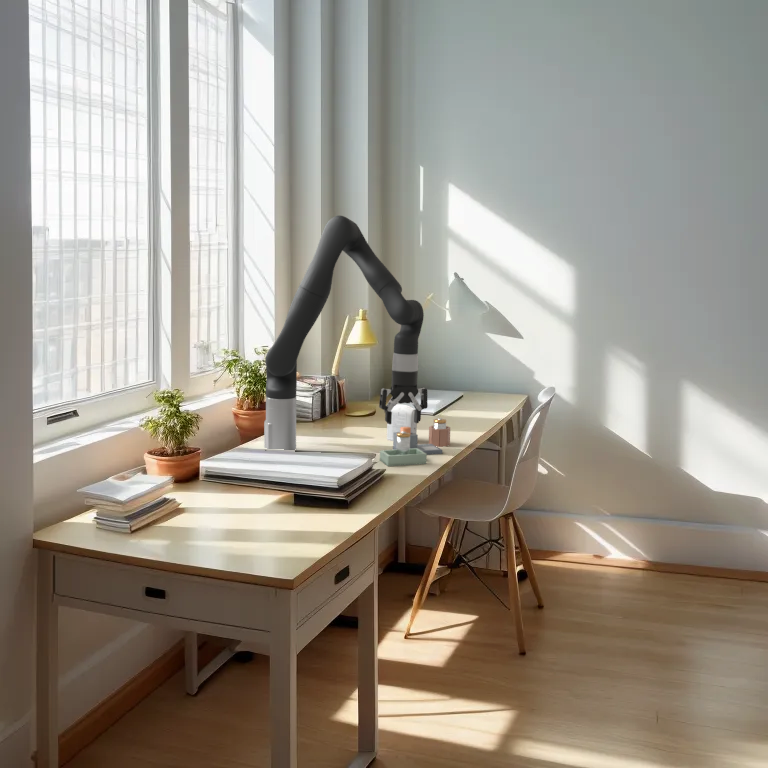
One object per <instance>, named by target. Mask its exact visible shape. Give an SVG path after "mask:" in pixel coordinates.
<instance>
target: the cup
mask: <svg viewBox="0 0 768 768" xmlns="http://www.w3.org/2000/svg"><path fill="white" fill-rule="evenodd" d="M428 444H433V445H435V446H437V447H438V448H441V447H443V446H446V447H448V445H449V446H450V445H451V427H450V426H448V425H446V429H435V428H434V424H433V425H431V426H429V427H428Z"/></svg>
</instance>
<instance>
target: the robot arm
mask: <svg viewBox="0 0 768 768" xmlns="http://www.w3.org/2000/svg"><path fill="white" fill-rule="evenodd" d="M342 252H344V253H345V254H346V255H347V256H348V257H349V258H350V259H352V261H353V262H355V264H356V265H357V266H358V269H360V271H361V272H362V274H363V277H364V278H365V280H366V282H367V283H368V284H369V286H370V287H371V289H372V290H373V291H374V292H375V294H376V295H377V296H378V297H379V299H381V301H382V303H383V306H384V307H385V309H386V312H387V313H388V315H389V317H390V318H391V320H393V321H394V323H396V324H398V325H400V329H399V331H398V333H396V334H395V336H394V339H393V340H394V341H393V356H392V361H391V362H392V363H391V364H392V365H391V366H392V367H391V387H390V388H384V387H381V389H380V393H379V402H378V403H379V404H378V407H379V408H380V409H381V410H383V411H385V412H384V413H385V414H384V415H385V416H384V420H385V422H386V423H388V424H391V421H392V412H391V410H392V409H393V407H394V406H396V405H398V404H401V405H402V404H412V406H413V408H414V409H416V410H414V422H415V423H417V424H420V423H419V422H421V419H422V418H421V417H422V410H425V409H427V408H428V407H429V405H428V389H427V388H425V387H424V386H423V387H420V388H418V377H419V375H418V373H419V357H418V355H419V353H418V352H419V338H420V334H421V332H422V327H423V323H424V318H425V317H424V316H425V315H424V314H425V313H424V309H423V306H422V304H421V303H420V302H419V301H418V300H415V299H406V298H405V297H404V296H403V294H402V293H403V288H402V285H401V283H400V282H399V281H398V280H397V279H396V277H395V276H394V275H393V274H392V272H391V271H390V270H389V269H388V268H387V267H386V266H385V265H384V263H383V262H382V261H381V260H380V259H379V257H378V256H377V254H376V253H375V252H374V251H373V250H372V248H371V246H370V245H369V243H368V241H367V240H366V238H365V235H364V234H363V232H362V231H361V229H360V228H359V225H358V224H357V223H356V222H354V221H353V220H351V219H349V218H348V217H346V216H344V215H335V216H333V217H331V218H329V220H328V221H327V223H326V224H325V225H324V228H323V231H322V233H321V236H320V238H319V242H318V244H317V247H316V250H315V253H314V255H313V257H312V260H311V261H310V263H309V265H308V268H307V270H306V272H305V274H304V276H303V278H302V280H301V282H300V283H299V286H298V288H297V290H296V291H295V294H294V296H293V299H292V301H291V304H290V307H289V309H288V311H287V315H286V317H285V318H286V319H285V320H284V325H283V327H282V329H281V330H280V332H279V334H278V336H277V338H276V339H275V341H274V343H273V345H272V346H271V347H270V348H269V349H268V350H267V352H266V355H265V359H264V361H265V366H266V367H265V368H266V371H265V372H266V379H265V380H266V382H265V383H266V384H265V420H264V421H263V422H264V423H263V424H264V425H263V428H264V433H263V435H264V436H263V437H264V438H263V439H264V441H263V442H264V444H263V447H264V448H267V449H284V450H295V449H296V450H297V386H298V383H297V380H298V375H297V374H298V373H297V372H298V366H297V365H298V364H297V363H298V362H297V361H298V357H299V355H300V352H301V349H302V347H303V344H304V341H305V340H306V337H307V336H308V334H309V332H310V331H311V329H312V328H313V326H314V325H315V323H316V322H317V320H318V319H319V317H320V314H321V313H322V312H323V310H324V309H323V308H325V305H326V303H327V301H328V299H329V296H330V293H331V290H332V284H333V276H334V270H335V266H336V264H337V262H338V259H339V258H340V256H341V254H342ZM389 395H391V398H390V399H389V401H388V402H387V398H388V396H389ZM417 395H419V396H420V403H419V401H418V400H417V399H416V396H417Z"/></svg>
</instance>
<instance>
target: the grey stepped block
mask: <svg viewBox="0 0 768 768" xmlns="http://www.w3.org/2000/svg"><path fill="white" fill-rule="evenodd" d="M397 433H399V432H394V434H393V441H392V442H393V443H392V444H393V445H392V450H396V445H397ZM418 436H419V435H418V434H417V433H416V434H415V433H414V432H412V431H411V435H410V449H412V448H418V449H419V450H421V451H423V452H424V453H426V454H427V455H429V456H430V455H441V454H443V449H442V448H441V447H436V446H435V445H433V444H429V443H422V444H421V443H420V444H419V443H418V441H419V440H418Z"/></svg>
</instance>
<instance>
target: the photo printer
mask: <svg viewBox="0 0 768 768" xmlns="http://www.w3.org/2000/svg"><path fill="white" fill-rule="evenodd" d="M414 410H416V409H415V407H412V406H409V405H408V404H402V403H401V404H400V403H397V404H396V406H394V407H393V409H392V410H391V412H392V421H391V424H388V423H387V422H386V423H387V424H386V440H387V441H390V442H393V434H394V432H400V428H401V427H411V431H412V432H414V433H415V434H417V433H418V432H417V428H418V427H417V425H418V423H415V422H414Z"/></svg>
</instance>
